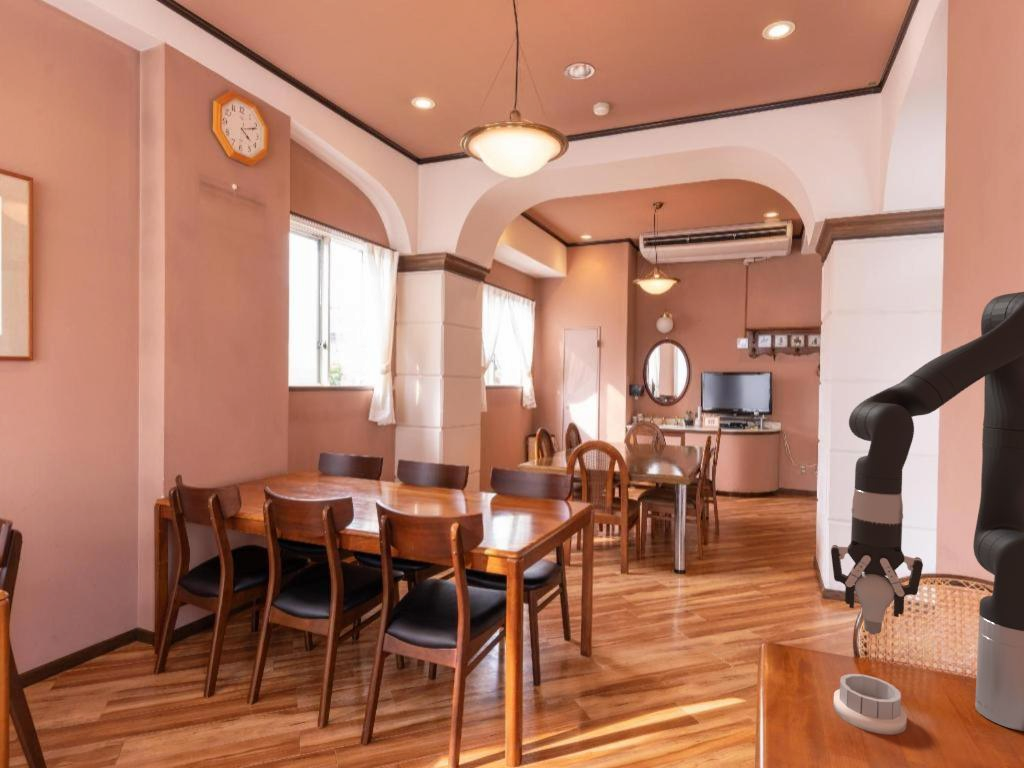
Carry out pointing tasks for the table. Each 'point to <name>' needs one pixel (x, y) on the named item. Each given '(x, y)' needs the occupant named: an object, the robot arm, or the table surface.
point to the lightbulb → (874, 599)
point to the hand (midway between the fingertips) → (873, 610)
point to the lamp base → (870, 721)
